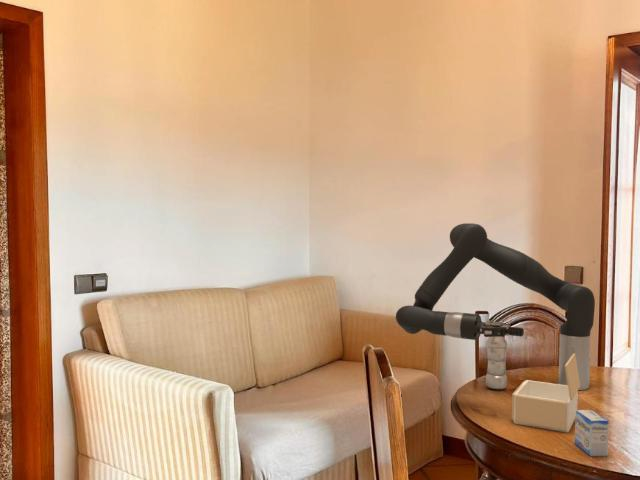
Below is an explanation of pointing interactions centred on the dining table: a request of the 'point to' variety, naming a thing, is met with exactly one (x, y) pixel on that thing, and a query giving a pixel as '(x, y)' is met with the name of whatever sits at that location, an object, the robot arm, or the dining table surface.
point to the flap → (572, 376)
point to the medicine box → (591, 433)
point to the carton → (544, 406)
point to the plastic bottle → (496, 362)
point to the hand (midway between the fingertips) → (523, 332)
